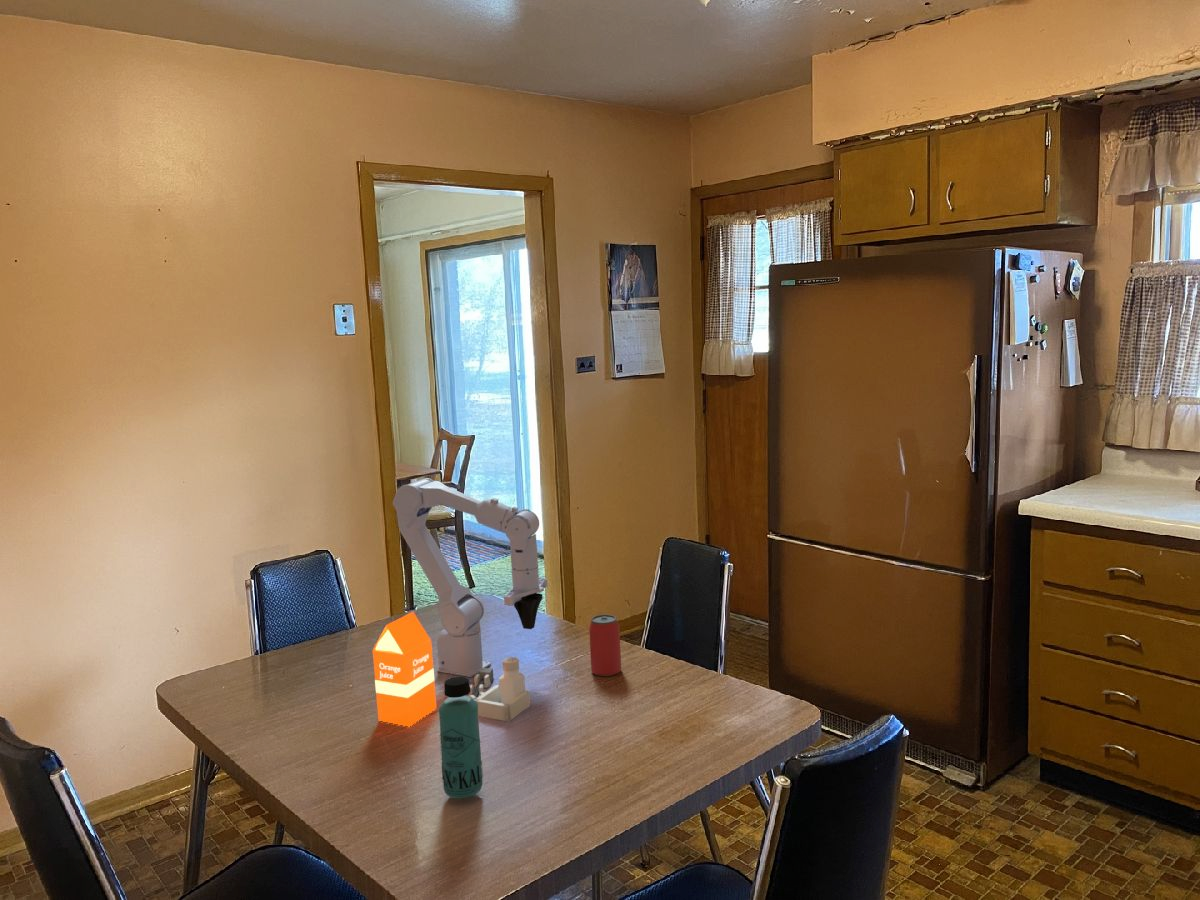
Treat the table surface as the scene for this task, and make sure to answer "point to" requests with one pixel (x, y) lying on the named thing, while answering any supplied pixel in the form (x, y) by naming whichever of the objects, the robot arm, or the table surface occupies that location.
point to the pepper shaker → (511, 680)
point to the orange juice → (404, 672)
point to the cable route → (483, 673)
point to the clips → (481, 687)
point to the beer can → (605, 645)
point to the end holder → (501, 705)
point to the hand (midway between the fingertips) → (528, 627)
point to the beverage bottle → (460, 740)
